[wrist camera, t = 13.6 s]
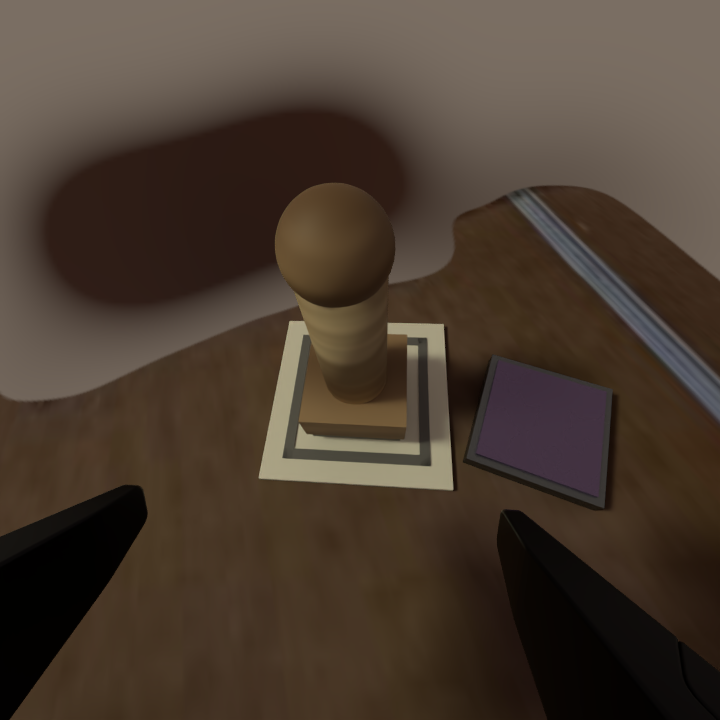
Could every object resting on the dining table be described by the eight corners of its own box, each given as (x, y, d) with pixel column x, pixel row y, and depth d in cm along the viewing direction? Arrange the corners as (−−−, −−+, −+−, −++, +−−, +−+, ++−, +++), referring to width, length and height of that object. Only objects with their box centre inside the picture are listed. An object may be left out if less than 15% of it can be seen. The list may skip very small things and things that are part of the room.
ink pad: (593, 510, 18) (606, 508, 17) (462, 462, 20) (467, 457, 19) (603, 395, 21) (614, 387, 20) (488, 361, 23) (493, 352, 22)
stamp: (403, 444, 20) (434, 275, 8) (309, 439, 21) (199, 272, 8) (404, 360, 23) (429, 135, 11) (321, 357, 24) (251, 139, 11)
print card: (452, 490, 19) (453, 489, 19) (260, 479, 20) (258, 478, 20) (442, 326, 25) (443, 323, 24) (290, 323, 25) (289, 320, 25)
